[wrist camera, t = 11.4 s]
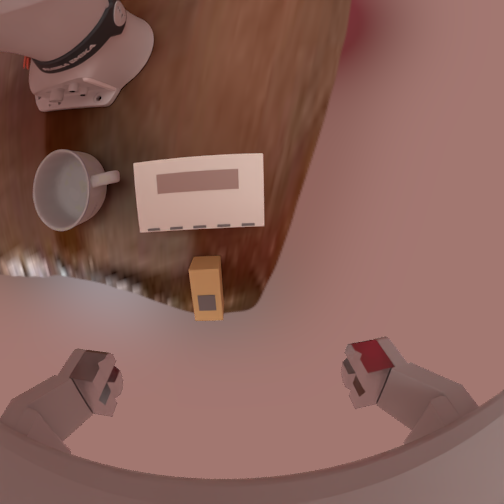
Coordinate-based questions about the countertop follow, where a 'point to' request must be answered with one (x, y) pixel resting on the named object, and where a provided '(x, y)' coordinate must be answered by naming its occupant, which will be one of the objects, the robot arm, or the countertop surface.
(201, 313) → the stub
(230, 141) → the countertop surface
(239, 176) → the ticket block
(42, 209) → the teacup
